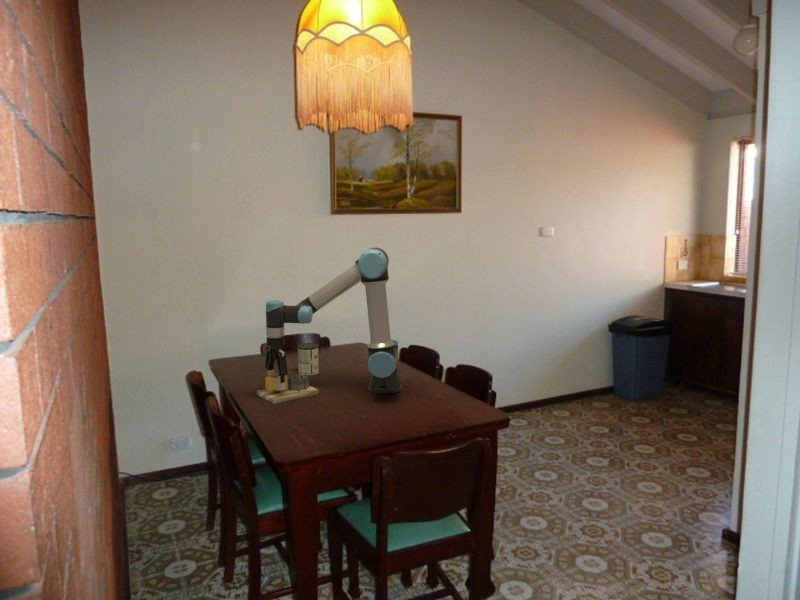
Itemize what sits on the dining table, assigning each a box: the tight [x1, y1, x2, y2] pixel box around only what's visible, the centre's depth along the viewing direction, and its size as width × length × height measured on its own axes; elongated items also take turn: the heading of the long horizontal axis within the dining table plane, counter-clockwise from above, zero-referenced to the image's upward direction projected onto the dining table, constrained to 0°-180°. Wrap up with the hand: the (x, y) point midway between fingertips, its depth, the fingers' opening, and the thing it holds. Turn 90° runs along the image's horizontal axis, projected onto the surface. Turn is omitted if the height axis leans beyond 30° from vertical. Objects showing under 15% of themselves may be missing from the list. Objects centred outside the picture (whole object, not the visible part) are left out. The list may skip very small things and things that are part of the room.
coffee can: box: [297, 342, 320, 376], centre depth 289 cm, size 10×10×14 cm
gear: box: [264, 373, 288, 391], centre depth 251 cm, size 9×9×5 cm
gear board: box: [256, 373, 320, 405], centre depth 255 cm, size 16×22×8 cm
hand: (276, 387), depth 252 cm, fingers closed on gear, 9 cm apart
